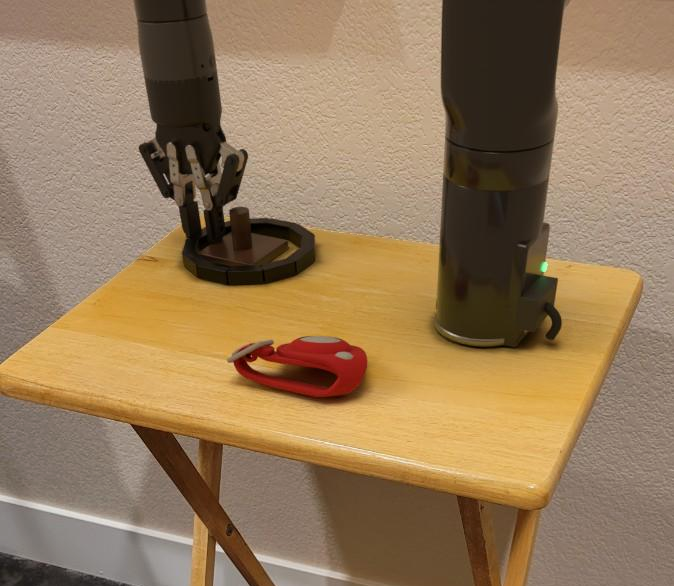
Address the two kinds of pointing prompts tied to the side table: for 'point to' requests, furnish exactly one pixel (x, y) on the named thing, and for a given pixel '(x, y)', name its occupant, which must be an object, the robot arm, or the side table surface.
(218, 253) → the ring holder
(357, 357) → the tracker holder
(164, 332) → the side table surface
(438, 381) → the side table surface
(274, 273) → the ring
